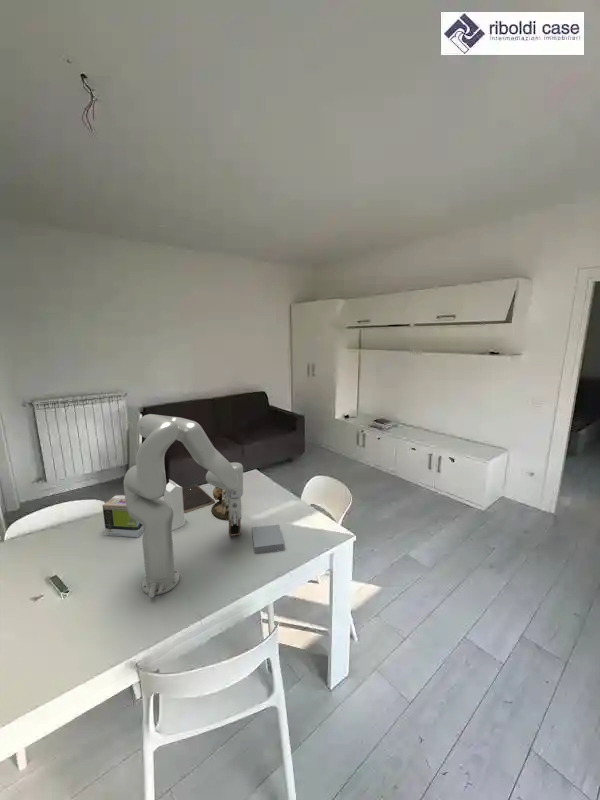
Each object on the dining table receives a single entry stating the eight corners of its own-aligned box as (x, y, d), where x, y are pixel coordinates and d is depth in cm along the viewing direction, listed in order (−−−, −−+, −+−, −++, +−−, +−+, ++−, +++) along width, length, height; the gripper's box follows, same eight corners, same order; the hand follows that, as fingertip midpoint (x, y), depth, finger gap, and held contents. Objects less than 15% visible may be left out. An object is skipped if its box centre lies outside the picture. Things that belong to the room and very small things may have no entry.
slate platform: (283, 550, 139) (283, 543, 138) (254, 553, 136) (254, 547, 136) (278, 530, 152) (278, 524, 152) (251, 533, 150) (251, 527, 149)
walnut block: (240, 534, 147) (240, 517, 145) (228, 535, 146) (228, 518, 144) (240, 528, 151) (240, 511, 150) (228, 529, 150) (228, 512, 149)
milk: (172, 530, 151) (168, 485, 146) (166, 525, 155) (162, 481, 150) (184, 525, 155) (181, 481, 151) (178, 520, 159) (175, 476, 155)
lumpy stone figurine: (204, 508, 170) (203, 477, 167) (225, 501, 178) (224, 470, 174) (223, 523, 157) (222, 489, 154) (244, 515, 165) (244, 482, 161)
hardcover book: (184, 514, 165) (184, 510, 165) (169, 496, 183) (168, 492, 182) (215, 504, 175) (214, 500, 175) (197, 487, 193) (197, 483, 192)
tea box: (150, 525, 155) (147, 495, 152) (137, 538, 145) (134, 507, 142) (119, 522, 156) (116, 493, 153) (105, 535, 147) (101, 504, 144)
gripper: (244, 500, 137) (244, 540, 141) (242, 482, 154) (242, 518, 157) (225, 501, 136) (226, 542, 139) (225, 483, 152) (225, 520, 156)
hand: (234, 529), depth 148 cm, fingers closed on walnut block, 5 cm apart
